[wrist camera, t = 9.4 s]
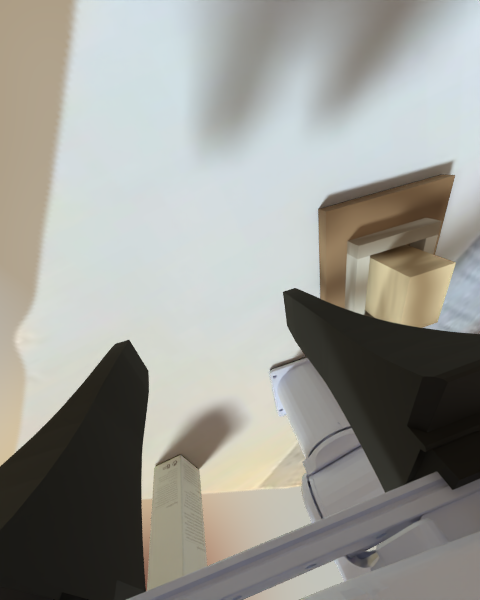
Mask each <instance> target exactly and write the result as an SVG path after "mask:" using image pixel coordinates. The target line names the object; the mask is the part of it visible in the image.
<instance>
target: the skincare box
mask: <svg viewBox="0 0 480 600" xmlns="http://www.w3.org/2000/svg"><path fill="white" fill-rule="evenodd" d="M204 567H207V559H206V547H205V535H204V522H203V510H202V498H201V485H200V473H199V469H197V468H196V467H195V466H194V465H192V464H191V463H190V462H189V461H187V460H186V459H185V458H184V457H182V456H181V455H179V456H177V457H175V458H173V459H171V460H169V461H166V462H164V463H162V464H160V465H158V466H156V467H155V468H154V482H153V500H152V516H151V534H150V551H149V568H148V584H147V591H148V590H151V589H153V588H156V587H158V586H160V585H163V584H165V583H168V582H170V581H173V580H175V579H177V578H180V577H182V576H185V575H187V574H190V573H192V572H194V571H197V570H199V569H202V568H204Z"/></svg>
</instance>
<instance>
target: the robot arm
mask: <svg viewBox="0 0 480 600" xmlns="http://www.w3.org/2000/svg"><path fill="white" fill-rule="evenodd" d="M283 296H284V304H285V312H286V320H287V326H288V328H289V330H290V332H291V334H292V336H293V337H294V339H295V341H296V343H297V344H298V346H299V347H300V348H301V350H302V351H303V353H304V354H305V355H306V357H307V358H304V359H301V360H298V361H295V362H292V363H289V364H287V365H284V366H281V367H278V368H275V369H272V370H271V371H270V373H269V374H270V378H271V383H272V388H273V393H274V398H275V403H276V408H277V413H278V415H279V416H284V415H286V416H287V418H288V420H289V422H290V425H291V427H292V429H293V432H294V434H295V436H296V438H297V441H298V443H299V445H300V447H301V450H302V452H303V454H304V456H305V457H306V460H304V461H303V465H304V467H305V469H306V472H307V473H305V474H304V475H303V476H302V485H301V491H302V496H303V500H304V503H305V507H306V509H307V512H308V515H309V517H310V519H311V521H312V523H311V524H308V525H306V526H304V527H301V528H299V529H296V530H294V531H291V532H289V533H286V534H284V535H282V536H279V537H277V538H274V539H272V540H270V541H267V542H265V543H262V544H260V545H257V546H255V547H253V548H250V549H248V550H245V551H243V552H241V553H238V554H236V555H233V556H231V557H228V558H226V559H224V560H221V561H219V562H216V563H214V564H211V565H209V566H207V567H204V568H202V569H199V570H197V571H194V572H192V573H190V574H187V575H185V576H182V577H180V578H177V579H175V580H173V581H170V582H168V583H165V584H163V585H160V586H158V587H156V588H153V589H151V590H148V591H146V588H145V575H144V558H143V541H142V509H141V469H142V445H143V436H144V428H145V420H146V412H147V403H148V394H149V377H148V370H147V368H146V366H145V365H144V363H143V362H142V360H141V358H140V357H139V355H138V353H137V352H136V350H135V348H134V347H133V345H132V344H131V342H130V340H127V341H124V342H120V343H117V344H115V345H114V346H113V347H112V348H111V349H110V351H109V352H108V353H107V354H106V355H105V357H104V358H103V359H102V360H101V362H100V363H99V364H98V365H97V367H96V368H95V369H94V370H93V372H92V373H91V374H90V375H89V376H88V378H87V379H86V380H85V381H84V383H83V384H82V385H81V386H80V387H79V388H78V390H77V391H76V392H75V393H74V394H73V395H72V397H71V398H70V399H69V400H68V401H67V402H66V403H65V405H64V406H63V407H62V408H61V409H60V410H59V411H58V412H57V413H56V414H55V415H54V416H53V417H52V418H51V419H50V420H49V421H48V422H47V423H46V424H45V425H44V426H43V427H42V428H41V429H40V430H39V431H38V432H37V433H36V434H35V435H34V436H33V437H32V438H31V439H30V440H29V441H28V442H27V443H26V444H25V445H23V446H22V447H21V448H20V449H19V450H18V451H17V452H16V453H15V454H14V455H12V456H11V457H10V458H9V459H8V460H7V461H6V462H5V463H4V464H3V465H1V466H0V600H243V599H246V598H248V597H250V596H253V595H255V594H257V593H260V592H262V591H264V590H266V589H269V588H271V587H273V586H276V585H278V584H280V583H283V582H285V581H287V580H290V579H292V578H294V577H296V576H299V575H301V574H303V573H306V572H308V571H310V570H313V569H315V568H317V567H320V566H322V565H324V564H326V563H329V562H331V561H333V560H334V562H335V564H336V565H337V568H338V570H339V572H340V574H341V576H342V578H343V580H344V582H342V583H340V584H337V585H334V586H332V587H329V588H327V589H324V590H322V591H319V592H316V593H314V594H311V595H309V596H307V597H305V598H302V599H299V600H480V334H469V333H458V332H448V331H440V330H433V329H426V328H419V327H413V326H408V325H403V324H398V323H393V322H389V321H384V320H380V319H377V318H373V317H369V316H366V315H362V314H359V313H356V312H353V311H350V310H347V309H344V308H342V307H339V306H336V305H334V304H331V303H329V302H326V301H324V300H322V299H319V298H317V297H315V296H313V295H310V294H308V293H306V292H304V291H301V290H299V289H296V288H294V289H291V290H288V291H284V292H283ZM383 541H384V542H383ZM381 542H382V543H381ZM379 543H380V544H379ZM378 544H379V545H378ZM376 545H377V548H376V550H372V551H366V550H368V549H370V548H372V547H374V546H376Z"/></svg>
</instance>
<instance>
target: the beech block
mask: <svg viewBox="0 0 480 600" xmlns="http://www.w3.org/2000/svg"><path fill="white" fill-rule="evenodd" d="M455 264H456V263H455V262H453V261H450V260H447V259H444V258H442V257H439V256H436V255H433V254H431V253H428V252H425V251H422V250H420V249H417V248H414V247H411V246H409V245H403V246H399V247H396V248H393V249H390V250H386V251H383V252H380V253H377V254H373V255H370V263H369V273H368V283H367V293H366V303H365V310H366V311H367V312H368V313H369V314H371V315H372V316H373V317H374V318H377V319H380V320H384V321H389V322H393V323H398V324H403V325H408V326H413V327H419V328H422V327H425V326H428V325H431V324H434V323H437V322H438V318H439V315H440V312H441V309H442V306H443V302H444V299H445V296H446V293H447V290H448V286H449V283H450V280H451V277H452V274H453V270H454V267H455Z"/></svg>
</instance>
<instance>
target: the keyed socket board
mask: <svg viewBox="0 0 480 600" xmlns="http://www.w3.org/2000/svg"><path fill="white" fill-rule="evenodd" d="M454 178H455V175H439V176H435V177H431V178H428V179H424V180H421V181H417V182H414V183H410V184H406V185H403V186H399V187H396V188H392V189H389V190H385V191H382V192H378V193H374V194H371V195H367V196H364V197H360V198H357V199H353V200H349V201H346V202H342V203H339V204H335V205H332V206H328V207H325V208H321V209H318V217H319V258H320V299H322V300H324V301H326V302H329V303H331V304H334V305H336V306H339V307H342V308H344V309H347V310H350V311H353V312H356V313H359V314H362V315H366V316H369V317H373V316H372V315H371V314H369V313H368V312H367V311H366V310H365V303H366V293H367V283H368V273H369V263H370V255H373V254H377V253H380V252H383V251H386V250H390V249H393V248H396V247H399V246H403V245H409V246H411V247H414V248H417V249H420V250H422V251H425V252H428V253H431V254H433V255H435V252H436V248H437V244H438V240H439V236H440V232H441V228H442V224H443V221H444V217H445V213H446V209H447V205H448V201H449V197H450V193H451V189H452V186H453V182H454ZM373 318H374V317H373Z"/></svg>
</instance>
